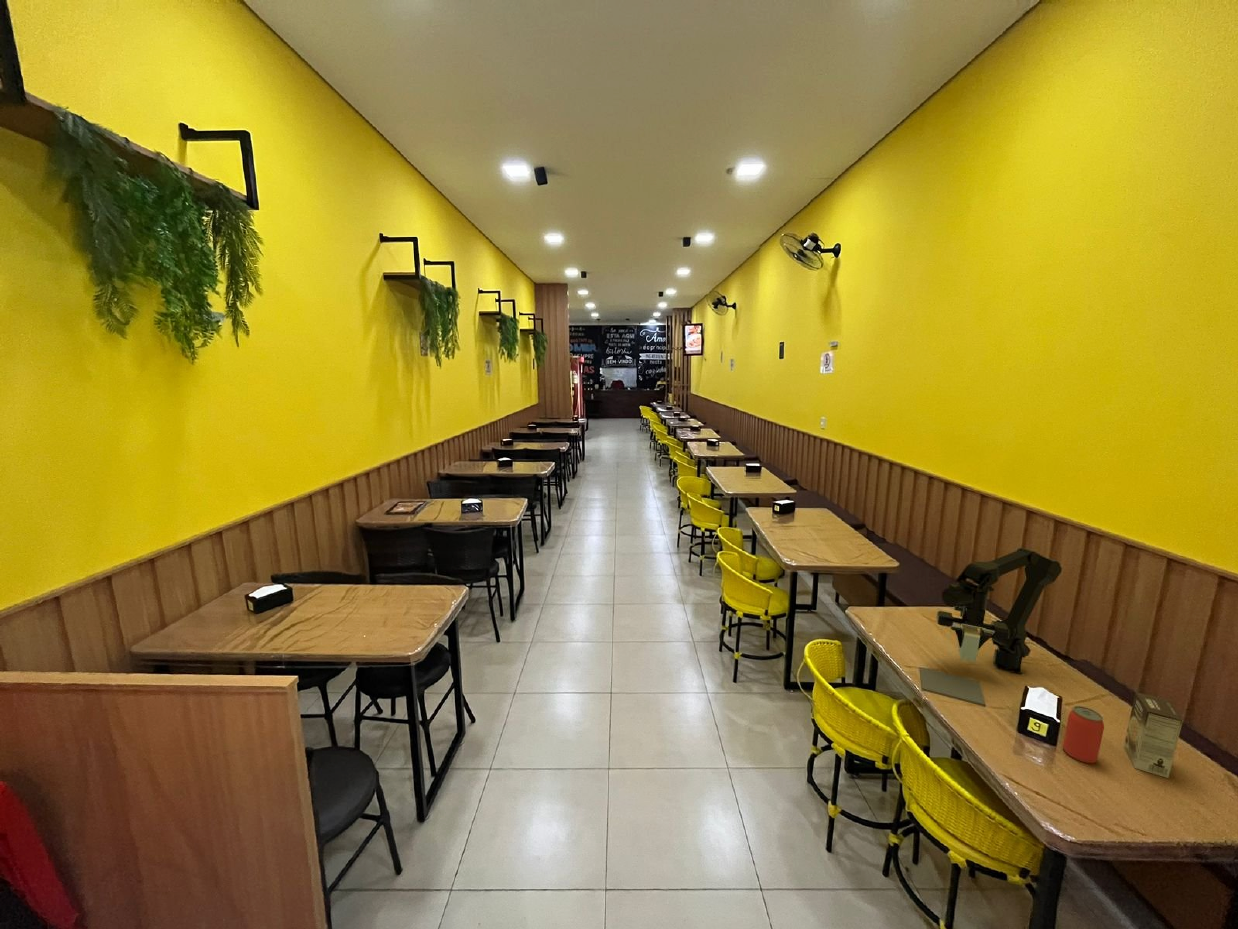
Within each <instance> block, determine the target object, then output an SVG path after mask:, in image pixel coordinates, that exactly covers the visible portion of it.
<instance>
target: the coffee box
mask: <svg viewBox="0 0 1238 929" xmlns="http://www.w3.org/2000/svg"><path fill="white" fill-rule="evenodd" d="M1183 722H1184V720H1183V718H1182V717H1181V715H1180V714H1179V712H1178V710H1177V709H1176V708H1175V706H1174V705H1173V703H1172V701H1170V700H1169V699H1165V698H1162V697H1158V696H1154V695H1150V694H1145V693H1141V692H1135V693H1134V697H1133V701H1132V706H1131V710H1130V716H1129V720H1128V724H1127V725H1128V726H1127V730H1126V734H1125V739H1124V742H1123V747H1124V750H1125V751H1126V754H1127V756H1128V758H1129V760H1130V761H1131V764H1132V766H1133V768H1135V769H1137V770H1140V771H1143V772H1146V773H1150V774H1153V775H1157V776H1159V777H1162V778H1163V777H1164V778H1167V779H1169V776H1170V774H1171V769H1172V765H1173V761H1174V757H1175V754H1176V749H1177V745H1178V740H1179V737H1180V735H1181V734H1180V733H1181V729H1182V727H1183Z"/></svg>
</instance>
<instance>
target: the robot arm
mask: <svg viewBox="0 0 1238 929" xmlns="http://www.w3.org/2000/svg"><path fill="white" fill-rule="evenodd" d="M1061 566H1062V565H1061V563H1060V562H1059V561H1057V560H1054V559H1051V558H1048V557H1046V556H1043V555H1041V554H1040V553H1038V552H1037V551H1035V550H1031V549H1029V548H1026V547H1019V548H1017V550H1015V551H1013V552H1010V553H1008V554H1005V555H1003V556H1000V557H997V558H995V559H993V560H990V561H976V562H970V563H969V564H967V565H966V566H965V567H964V569H963V570H962V572H961V573H960V574H959V575H958V577H957V578H956V579H955V581H954V582H955V583H956V584H949V585H948V588H945V589H943V591H942V592H941V598H942V601H943V603H944V604H945V605H946V606H947V607H950V608H953V610H954V611H956V612H960V617H961V618H959V617H955V616H953V613H952V612H948V611H944V610H938V611H937V613H936V621H937V624H938V625H939V626H943V627H947V628H950V629H951V630H952V631H954V632H955V635H956V637H957V642H958V648H959V647H960V648H961V645H962V625H965V626H970V627H974V628H977V629H979V630H978V632H979V635H980V640H979V646H978V651H979V650H980V649H981V648H982V647H983V646H984V644H985V643H986V642H988V640H990V639H991V641H992V644H993V645H994V646H997V648H996V649H994V653H993V660H992V661H993V663H994V664H995V666H996V669H999V670H1002V671H1006V672H1011V673H1016V674H1019V675H1020V674H1021V675H1022V673H1023V672H1022V670H1021V667H1022V662H1023V659H1024V658H1025V659H1026V658H1027V657H1028V656H1029V655H1030V652H1031V649H1030V647H1029V646H1028V645H1027V643H1026V639H1027V632H1026V631H1027V630H1026V627H1025V626H1026V624H1027V623H1028V620H1029V618H1030V616H1031V614H1032V613H1033V610H1034V608H1035V606H1036V605H1037V603H1038V600H1039V599H1040V597H1041V595H1042V592H1043V591H1044V589H1045V587H1047V586H1048V585H1051V584H1052V583H1054V582H1055V581H1056V580H1057V578H1058V577H1059V576H1060V574H1061V573H1062V570H1063V568H1062V567H1061ZM1023 567H1024V569H1023V571H1024V574H1025V579H1024V580H1025V581H1024V582H1023V584H1022V586H1021V588H1020V589H1019V590H1020V591H1019V593H1018V595H1017V597H1016V599H1015V600H1014V602H1013V603H1012V606H1011V609H1010V610H1009V612H1008V614H1007V616H1006V617H1005V618H1003V619H1002V620H999V619H996V621H995V620H994V621H993V620H991V622H990V623H986V622H984V621H985V616H986V609H987V604H988V603H987V602H988V596H989V592H994V591H995V589H994V588H993V587H992V586H993V585H994V584H996V583H997V582H999V580H1000V577H1002V576H1004V575H1006V574H1009V573H1010V572H1013V571H1016V570H1018V569H1020V568H1023Z"/></svg>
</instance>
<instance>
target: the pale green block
mask: <svg viewBox="0 0 1238 929" xmlns="http://www.w3.org/2000/svg"><path fill="white" fill-rule="evenodd" d="M961 628H962V645H961V648H960V647H959V646H958V653H959V656H960V660H965V661H969V662H972V663H977V657H978V653H979V652H978V651H979V650H978V646H979V640H980V635H979V630H978V629H979V628H974V627H970V626H965V625H961Z"/></svg>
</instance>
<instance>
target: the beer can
mask: <svg viewBox="0 0 1238 929" xmlns="http://www.w3.org/2000/svg"><path fill="white" fill-rule="evenodd" d="M1103 719H1104V718H1103V716H1102V715H1101V714H1100V713H1099V712H1097V711H1096V710H1094V709H1091V708H1090V707H1087V706H1081V705H1075V706H1073V707H1072V709H1071V711H1070V712H1069V713H1068V717H1067V722H1066V727H1065V732H1064V737H1063V742H1062V748H1063V750H1064V752H1065V753H1066V754H1068V755H1069V757H1071V758H1073V759H1074V760H1077V761H1080V762H1082V763H1087V764H1094V763H1097V760H1098V759H1099V754H1100V750H1101V744H1102V739H1103V736H1104V735H1103V734H1104V730H1105V724H1104V720H1103Z"/></svg>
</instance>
